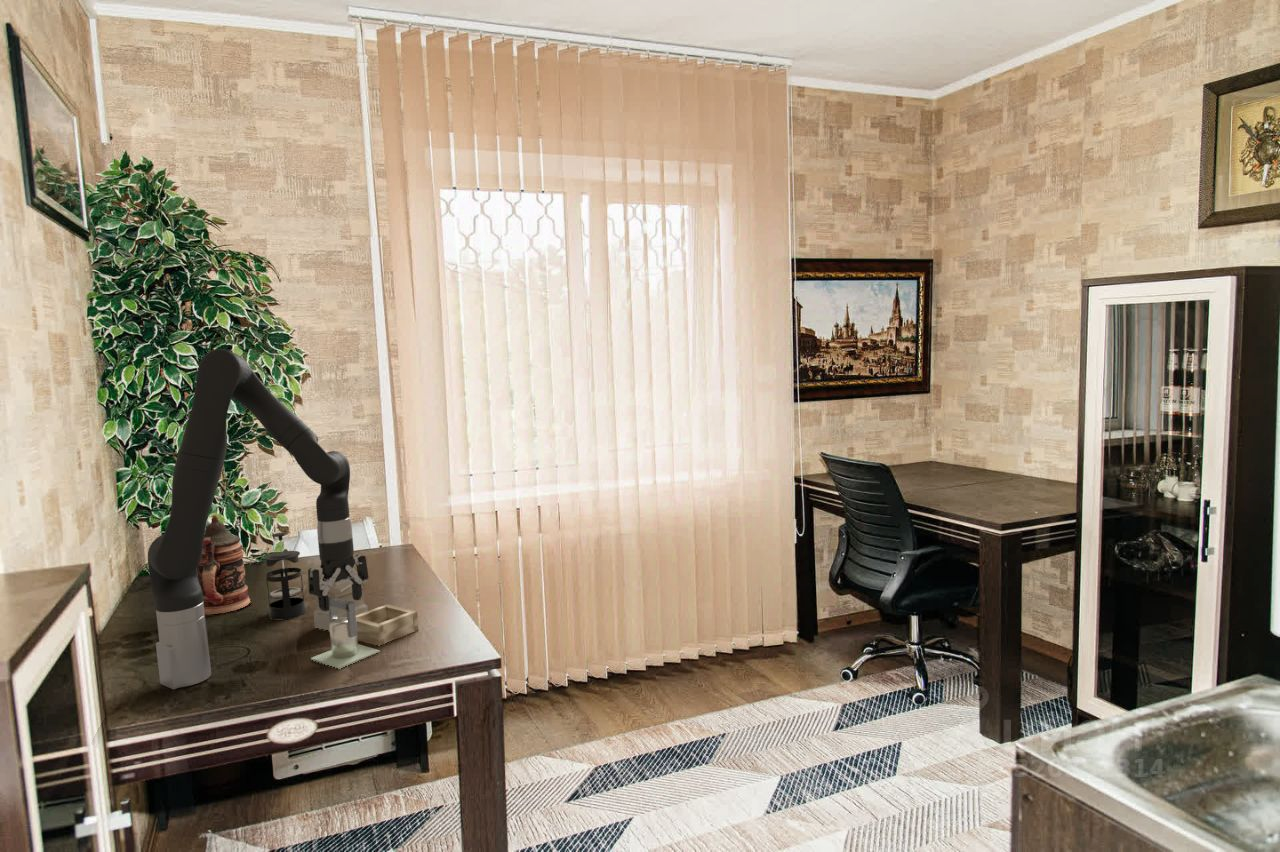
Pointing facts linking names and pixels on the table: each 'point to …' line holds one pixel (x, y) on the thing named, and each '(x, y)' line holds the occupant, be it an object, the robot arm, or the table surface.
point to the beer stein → (222, 570)
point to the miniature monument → (340, 591)
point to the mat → (340, 663)
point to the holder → (385, 624)
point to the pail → (343, 629)
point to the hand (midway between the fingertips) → (341, 605)
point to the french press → (284, 585)
